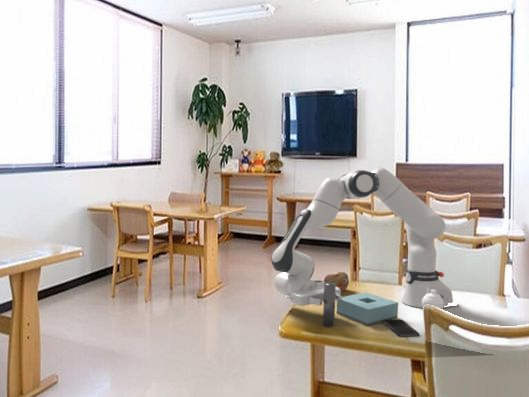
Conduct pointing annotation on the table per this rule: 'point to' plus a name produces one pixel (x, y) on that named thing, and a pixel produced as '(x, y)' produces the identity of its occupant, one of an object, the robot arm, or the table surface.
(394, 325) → the phone
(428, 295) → the spinning top
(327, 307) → the pin
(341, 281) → the tin
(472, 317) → the table surface
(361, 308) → the hole block
